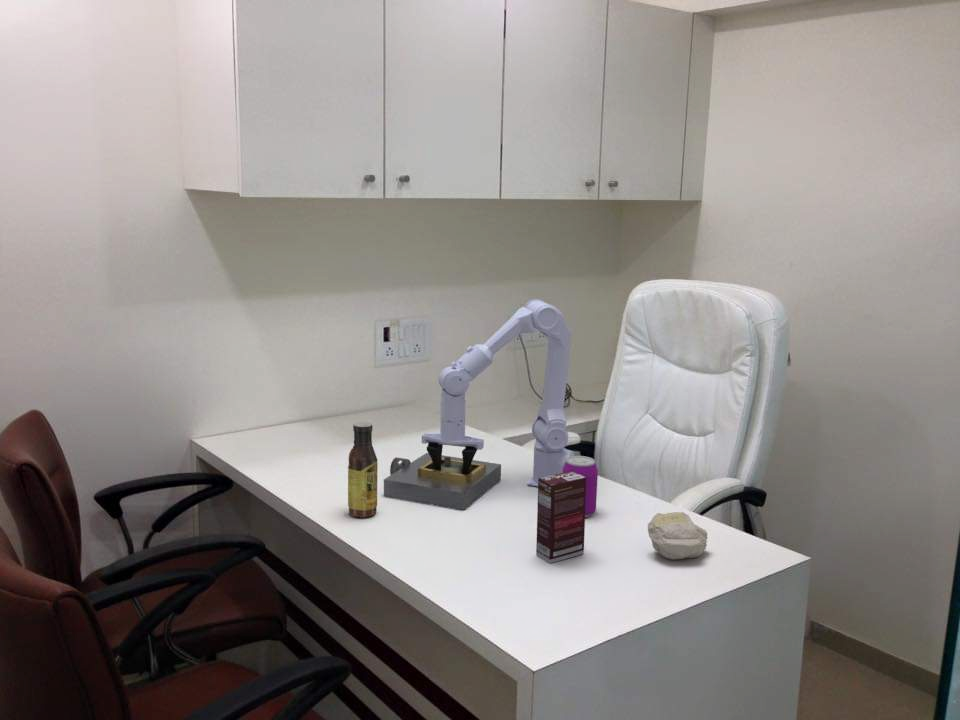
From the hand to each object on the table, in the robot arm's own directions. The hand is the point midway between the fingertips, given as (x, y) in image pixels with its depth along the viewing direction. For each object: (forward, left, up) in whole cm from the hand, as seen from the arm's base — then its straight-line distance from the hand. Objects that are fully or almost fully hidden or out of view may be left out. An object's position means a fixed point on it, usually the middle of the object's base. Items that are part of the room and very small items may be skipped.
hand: (451, 475), depth 202 cm
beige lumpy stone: (-55, +14, -4) cm, 57 cm away
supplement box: (-34, +24, -4) cm, 42 cm away
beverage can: (-31, +1, -4) cm, 31 cm away
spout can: (0, 0, -3) cm, 4 cm away
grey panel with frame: (+3, 0, -3) cm, 5 cm away
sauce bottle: (+11, +22, -4) cm, 25 cm away
